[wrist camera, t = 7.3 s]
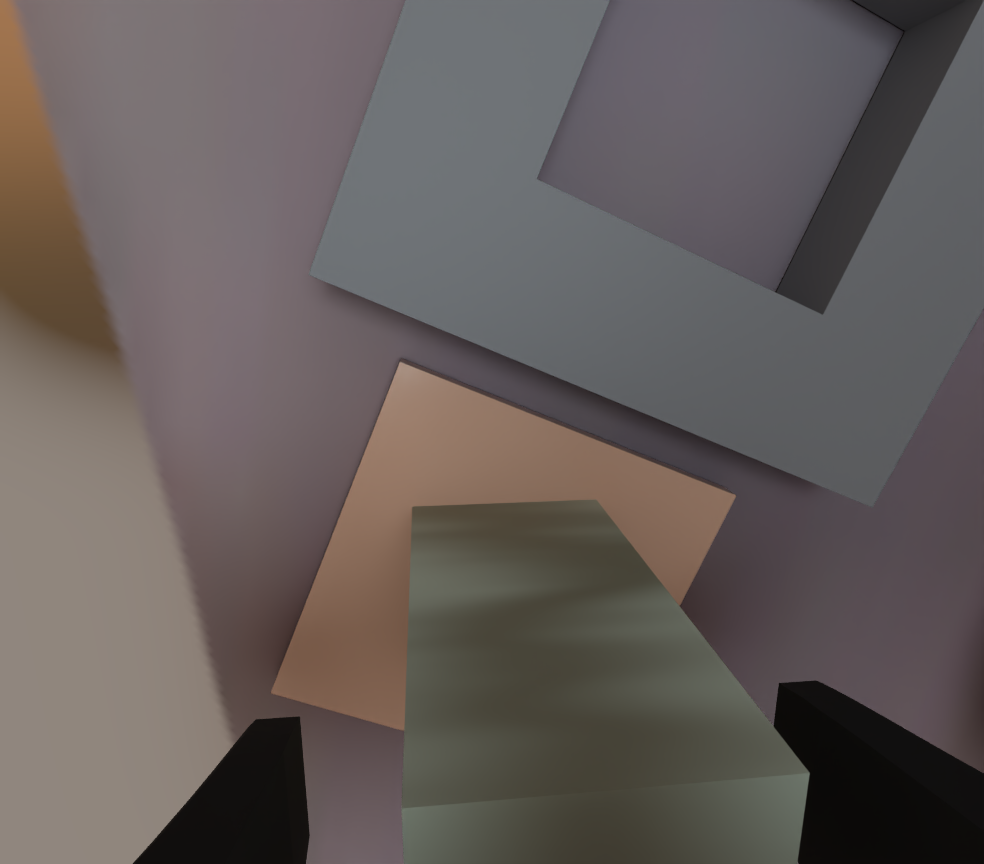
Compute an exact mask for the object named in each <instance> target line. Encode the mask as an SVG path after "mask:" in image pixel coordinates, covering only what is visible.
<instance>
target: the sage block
mask: <svg viewBox="0 0 984 864" xmlns="http://www.w3.org/2000/svg"><path fill="white" fill-rule="evenodd" d="M809 775H810V773H809V772H808V770H807V769H806V768H805V766H804V765H803V764H802V763H801V761H800V760H799V759H798V757H797V756H796V755H795V754H794V752H793V751H792V750H791V748H790V747H789V746H788V745H787V743H786V742H785V741H784V739H783V738H782V737H781V736H780V734H779V733H778V732H777V731H776V729H775V728H774V727H773V725H772V724H771V723H770V722H769V720H768V719H767V718H766V716H765V715H764V714H763V713H762V711H761V710H760V709H759V707H758V706H757V705H756V704H755V702H754V701H753V700H752V698H751V697H750V696H749V695H748V693H747V692H746V691H745V689H744V688H743V687H742V686H741V684H740V683H739V682H738V681H737V679H736V678H735V677H734V675H733V674H732V673H731V672H730V670H729V669H728V668H727V666H726V665H725V664H724V663H723V661H722V660H721V659H720V657H719V656H718V655H717V654H716V652H715V651H714V650H713V648H712V647H711V646H710V645H709V643H708V642H707V641H706V639H705V638H704V637H703V636H702V634H701V633H700V632H699V631H698V629H697V628H696V627H695V625H694V624H693V623H692V622H691V620H690V619H689V618H688V616H687V615H686V614H685V613H684V611H683V610H682V609H681V607H680V606H679V605H678V604H677V602H676V601H675V600H674V598H673V597H672V596H671V595H670V593H669V592H668V591H667V589H666V588H665V587H664V586H663V584H662V583H661V582H660V581H659V579H658V578H657V577H656V575H655V574H654V573H653V572H652V570H651V569H650V568H649V566H648V565H647V564H646V563H645V561H644V560H643V559H642V557H641V556H640V555H639V554H638V552H637V551H636V550H635V548H634V547H633V546H632V545H631V543H630V542H629V541H628V540H627V538H626V537H625V536H624V534H623V533H622V532H621V531H620V529H619V528H618V527H617V525H616V524H615V523H614V522H613V520H612V519H611V518H610V516H609V515H608V514H607V513H606V511H605V510H604V509H603V507H602V506H601V505H600V504H599V502H598V501H597V500H596V499H595V500H569V501H543V502H517V503H492V504H466V505H440V506H414V507H412V528H411V557H410V585H409V613H408V641H407V670H406V698H405V726H404V754H403V783H402V830H403V854H404V864H797V862H798V854H799V847H800V840H801V833H802V825H803V818H804V811H805V804H806V796H807V789H808V782H809Z"/></svg>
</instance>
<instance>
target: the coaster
mask: <svg viewBox="0 0 984 864" xmlns="http://www.w3.org/2000/svg"><path fill="white" fill-rule="evenodd" d="M735 497H736V495H735V494H733V493H732V492H731V491H729V490H728V489H726V488H725V487H723V486H720V485H718V484H715V483H713V482H710V481H708V480H705V479H703V478H700V477H698V476H695V475H693V474H690V473H688V472H685V471H683V470H680V469H678V468H675V467H673V466H670V465H668V464H665V463H663V462H660V461H658V460H655V459H653V458H650V457H648V456H645V455H643V454H640V453H638V452H635V451H633V450H630V449H628V448H625V447H623V446H620V445H618V444H615V443H613V442H610V441H608V440H605V439H603V438H600V437H598V436H595V435H593V434H590V433H587V432H585V431H582V430H580V429H577V428H575V427H572V426H570V425H567V424H565V423H562V422H560V421H557V420H555V419H552V418H550V417H547V416H545V415H542V414H540V413H537V412H535V411H532V410H530V409H527V408H525V407H522V406H520V405H517V404H515V403H512V402H510V401H507V400H505V399H502V398H500V397H497V396H495V395H492V394H490V393H487V392H485V391H482V390H480V389H477V388H475V387H472V386H470V385H467V384H465V383H462V382H460V381H457V380H455V379H452V378H450V377H447V376H445V375H442V374H440V373H437V372H435V371H432V370H430V369H427V368H424V367H422V366H419V365H417V364H414V363H412V362H409V361H407V360H404V359H402V358H401V359H400V362H399V364H398V367H397V370H396V372H395V375H394V377H393V380H392V382H391V385H390V387H389V390H388V393H387V395H386V398H385V400H384V403H383V405H382V408H381V410H380V413H379V416H378V418H377V421H376V423H375V426H374V428H373V431H372V434H371V436H370V439H369V441H368V444H367V446H366V449H365V451H364V454H363V457H362V459H361V462H360V464H359V467H358V469H357V472H356V474H355V477H354V480H353V482H352V485H351V487H350V490H349V492H348V495H347V498H346V500H345V503H344V505H343V508H342V510H341V513H340V515H339V518H338V521H337V523H336V526H335V528H334V531H333V533H332V536H331V538H330V541H329V544H328V546H327V549H326V551H325V554H324V556H323V559H322V562H321V564H320V567H319V569H318V572H317V574H316V577H315V579H314V582H313V585H312V587H311V590H310V592H309V595H308V597H307V600H306V602H305V605H304V608H303V610H302V613H301V615H300V618H299V620H298V623H297V626H296V628H295V631H294V633H293V636H292V638H291V641H290V643H289V646H288V649H287V651H286V654H285V656H284V659H283V661H282V664H281V666H280V669H279V672H278V674H277V677H276V679H275V682H274V685H273V688H272V691H271V694H275V695H278V696H282V697H285V698H289V699H292V700H296V701H300V702H303V703H307V704H310V705H314V706H317V707H321V708H324V709H328V710H331V711H335V712H338V713H342V714H345V715H349V716H353V717H356V718H360V719H363V720H367V721H370V722H374V723H377V724H381V725H384V726H388V727H391V728H395V729H398V730H402V731H404V726H405V698H406V670H407V641H408V613H409V585H410V557H411V528H412V507H414V506H440V505H466V504H492V503H517V502H543V501H569V500H595V499H596V500H597V501H598V502H599V504H600V505H601V506H602V507H603V509H604V510H605V511H606V513H607V514H608V515H609V516H610V518H611V519H612V520H613V522H614V523H615V524H616V525H617V527H618V528H619V529H620V531H621V532H622V533H623V534H624V536H625V537H626V538H627V540H628V541H629V542H630V543H631V545H632V546H633V547H634V548H635V550H636V551H637V552H638V554H639V555H640V556H641V557H642V559H643V560H644V561H645V563H646V564H647V565H648V566H649V568H650V569H651V570H652V572H653V573H654V574H655V575H656V577H657V578H658V579H659V581H660V582H661V583H662V584H663V586H664V587H665V588H666V589H667V591H668V592H669V593H670V595H671V596H672V597H673V598H674V600H675V601H676V602H677V604H678V605H679V606H680V605H681V603H682V601H683V599H684V597H685V595H686V593H687V591H688V589H689V587H690V585H691V583H692V581H693V579H694V577H695V575H696V573H697V571H698V569H699V568H700V566H701V564H702V562H703V560H704V558H705V556H706V554H707V552H708V550H709V548H710V546H711V544H712V542H713V540H714V538H715V536H716V534H717V532H718V530H719V529H720V527H721V525H722V523H723V521H724V519H725V517H726V515H727V513H728V511H729V509H730V507H731V505H732V503H733V501H734V499H735Z"/></svg>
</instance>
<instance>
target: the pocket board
mask: <svg viewBox="0 0 984 864" xmlns="http://www.w3.org/2000/svg"><path fill="white" fill-rule="evenodd" d="M609 1H610V0H406V1H405V4H404V6H403V9H402V12H401V15H400V18H399V21H398V23H397V26H396V29H395V32H394V35H393V37H392V40H391V43H390V46H389V49H388V52H387V54H386V57H385V60H384V63H383V66H382V69H381V71H380V74H379V77H378V80H377V83H376V86H375V88H374V91H373V94H372V97H371V100H370V102H369V105H368V108H367V111H366V114H365V117H364V119H363V122H362V125H361V128H360V131H359V134H358V136H357V139H356V142H355V145H354V148H353V151H352V153H351V156H350V159H349V162H348V165H347V167H346V170H345V173H344V176H343V179H342V182H341V184H340V187H339V190H338V193H337V196H336V199H335V201H334V204H333V207H332V210H331V213H330V215H329V218H328V221H327V224H326V227H325V230H324V232H323V235H322V238H321V241H320V244H319V247H318V249H317V252H316V255H315V258H314V261H313V264H312V266H311V269H310V272H309V275H310V276H312V277H315V278H317V279H320V280H322V281H325V282H327V283H329V284H332V285H334V286H337V287H339V288H342V289H344V290H346V291H349V292H351V293H354V294H356V295H358V296H361V297H363V298H366V299H368V300H371V301H373V302H375V303H378V304H380V305H383V306H385V307H388V308H390V309H392V310H395V311H397V312H400V313H402V314H405V315H407V316H409V317H412V318H414V319H417V320H419V321H421V322H424V323H426V324H429V325H431V326H434V327H436V328H438V329H441V330H443V331H446V332H448V333H451V334H453V335H455V336H458V337H460V338H463V339H465V340H467V341H470V342H472V343H475V344H477V345H480V346H482V347H484V348H487V349H489V350H492V351H494V352H497V353H499V354H501V355H504V356H506V357H509V358H511V359H514V360H516V361H518V362H521V363H523V364H526V365H528V366H530V367H533V368H535V369H538V370H540V371H543V372H545V373H547V374H550V375H552V376H555V377H557V378H560V379H562V380H564V381H567V382H569V383H572V384H574V385H577V386H579V387H581V388H584V389H586V390H589V391H591V392H593V393H596V394H598V395H601V396H603V397H606V398H608V399H610V400H613V401H615V402H618V403H620V404H623V405H625V406H627V407H630V408H632V409H635V410H637V411H640V412H642V413H644V414H647V415H649V416H652V417H654V418H656V419H659V420H661V421H664V422H666V423H669V424H671V425H673V426H676V427H678V428H681V429H683V430H686V431H688V432H690V433H693V434H695V435H698V436H700V437H702V438H705V439H707V440H710V441H712V442H715V443H717V444H719V445H722V446H724V447H727V448H729V449H732V450H734V451H736V452H739V453H741V454H744V455H746V456H749V457H751V458H753V459H756V460H758V461H761V462H763V463H765V464H768V465H770V466H773V467H775V468H778V469H780V470H782V471H785V472H787V473H790V474H792V475H795V476H797V477H799V478H802V479H804V480H807V481H809V482H811V483H814V484H816V485H819V486H821V487H824V488H826V489H828V490H831V491H833V492H836V493H838V494H841V495H843V496H845V497H848V498H850V499H853V500H855V501H858V502H860V503H862V504H865V505H867V506H870V507H872V508H873V506H874V504H875V502H876V500H877V499H878V497H879V495H880V493H881V491H882V490H883V488H884V486H885V484H886V482H887V481H888V479H889V477H890V475H891V473H892V472H893V470H894V468H895V466H896V464H897V463H898V461H899V459H900V457H901V455H902V454H903V452H904V450H905V448H906V447H907V445H908V443H909V441H910V439H911V438H912V436H913V434H914V432H915V430H916V429H917V427H918V425H919V423H920V421H921V420H922V418H923V416H924V414H925V412H926V411H927V409H928V407H929V405H930V403H931V402H932V400H933V398H934V396H935V395H936V393H937V391H938V389H939V387H940V386H941V384H942V382H943V380H944V378H945V377H946V375H947V373H948V371H949V369H950V368H951V366H952V364H953V362H954V360H955V359H956V357H957V355H958V353H959V351H960V350H961V348H962V346H963V344H964V342H965V341H966V339H967V337H968V335H969V334H970V332H971V330H972V328H973V326H974V325H975V323H976V321H977V319H978V317H979V316H980V314H981V312H982V310H983V308H984V0H853V1H855V2H857V3H859V4H860V5H862V6H864V7H865V8H867V9H869V10H870V11H872V12H874V13H875V14H877V15H879V16H880V17H882V18H884V19H885V20H887V21H889V22H891V23H892V24H894V25H896V26H897V27H899V28H901V29H902V30H904V31H905V33H904V35H903V37H902V39H901V41H900V43H899V45H898V47H897V49H896V51H895V53H894V55H893V57H892V59H891V61H890V63H889V65H888V67H887V69H886V71H885V73H884V75H883V77H882V79H881V81H880V83H879V85H878V87H877V89H876V91H875V93H874V95H873V97H872V99H871V101H870V103H869V106H868V108H867V110H866V112H865V114H864V116H863V118H862V120H861V122H860V124H859V126H858V128H857V130H856V132H855V134H854V136H853V138H852V140H851V142H850V144H849V146H848V148H847V150H846V152H845V154H844V156H843V158H842V160H841V162H840V164H839V166H838V168H837V170H836V172H835V174H834V176H833V178H832V180H831V182H830V185H829V187H828V189H827V191H826V193H825V195H824V197H823V199H822V201H821V203H820V205H819V207H818V209H817V211H816V213H815V215H814V217H813V219H812V221H811V223H810V225H809V227H808V229H807V231H806V233H805V235H804V237H803V239H802V241H801V243H800V245H799V247H798V249H797V251H796V253H795V255H794V257H793V259H792V261H791V264H790V266H789V268H788V270H787V272H786V274H785V276H784V278H783V280H782V282H781V284H780V286H779V288H778V290H777V292H774V291H772V290H769V289H767V288H765V287H763V286H761V285H759V284H757V283H755V282H753V281H750V280H748V279H746V278H744V277H742V276H740V275H738V274H736V273H734V272H732V271H729V270H727V269H725V268H723V267H721V266H719V265H717V264H715V263H713V262H710V261H708V260H706V259H704V258H702V257H700V256H698V255H696V254H694V253H691V252H689V251H687V250H685V249H683V248H681V247H679V246H677V245H675V244H673V243H670V242H668V241H666V240H664V239H662V238H660V237H658V236H656V235H654V234H651V233H649V232H647V231H645V230H643V229H641V228H639V227H637V226H635V225H632V224H630V223H628V222H626V221H624V220H622V219H620V218H618V217H616V216H614V215H611V214H609V213H607V212H605V211H603V210H601V209H599V208H597V207H595V206H592V205H590V204H588V203H586V202H584V201H582V200H580V199H578V198H576V197H573V196H571V195H569V194H567V193H565V192H563V191H561V190H559V189H557V188H555V187H552V186H550V185H548V184H546V183H544V182H542V181H540V180H538V179H537V177H538V175H539V172H540V170H541V167H542V165H543V162H544V160H545V158H546V155H547V153H548V150H549V148H550V145H551V143H552V140H553V138H554V136H555V133H556V131H557V128H558V126H559V123H560V121H561V118H562V116H563V114H564V111H565V109H566V106H567V104H568V101H569V99H570V96H571V94H572V92H573V89H574V87H575V84H576V82H577V79H578V77H579V75H580V72H581V70H582V67H583V65H584V62H585V60H586V57H587V55H588V53H589V50H590V48H591V45H592V43H593V40H594V38H595V35H596V33H597V31H598V28H599V26H600V23H601V21H602V18H603V16H604V13H605V11H606V9H607V6H608V4H609Z"/></svg>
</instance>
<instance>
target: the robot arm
mask: <svg viewBox="0 0 984 864" xmlns="http://www.w3.org/2000/svg"><path fill="white" fill-rule="evenodd" d="M774 728H775V729H776V731H777V732H778V733H779V734H780V736H781V737H782V738H783V739H784V741H785V742H786V743H787V745H788V746H789V747H790V748H791V750H792V751H793V752H794V754H795V755H796V756H797V757H798V759H799V760H800V761H801V763H802V764H803V765H804V766H805V768H806V769H807V770H808V772H809V773H810V775H809V782H808V789H807V796H806V804H805V811H804V818H803V825H802V833H801V840H800V847H799V854H798V863H799V864H984V773H982V772H980V771H978V770H976V769H975V768H973V767H971V766H969V765H967V764H966V763H964V762H962V761H960V760H959V759H957V758H955V757H953V756H952V755H950V754H948V753H946V752H944V751H943V750H941V749H939V748H937V747H936V746H934V745H932V744H930V743H929V742H927V741H925V740H923V739H922V738H920V737H918V736H916V735H915V734H913V733H911V732H909V731H908V730H906V729H904V728H903V727H901V726H899V725H897V724H896V723H894V722H892V721H890V720H889V719H887V718H885V717H883V716H882V715H880V714H878V713H876V712H875V711H873V710H871V709H869V708H868V707H866V706H864V705H862V704H860V703H859V702H857V701H855V700H853V699H851V698H850V697H848V696H846V695H844V694H842V693H840V692H838V691H836V690H835V689H833V688H831V687H829V686H827V685H825V684H823V683H820V682H818V681H803V682H789V683H779V687H778V696H777V704H776V712H775V720H774ZM308 843H309V823H308V811H307V798H306V786H305V774H304V762H303V750H302V738H301V725H300V717H286V718H272V719H257V720H255V721H254V722H253V723H252V724H251V725H250V726H249V727H248V728H247V729H246V731H245V732H244V733H243V734H242V736H241V737H240V738H239V739H238V740H237V742H236V743H235V744H234V745H233V747H232V748H231V749H230V750H229V752H228V753H227V754H226V756H225V757H224V758H223V759H222V760H221V762H220V763H219V764H218V765H217V767H216V768H215V769H214V770H213V771H212V773H211V774H210V775H209V776H208V778H207V779H206V780H205V781H204V782H203V784H202V785H201V786H200V787H199V788H198V790H197V791H196V792H195V793H194V794H193V796H192V797H191V798H190V799H189V800H188V801H187V803H186V804H185V805H184V806H183V807H182V808H181V810H180V811H179V812H178V813H177V814H176V815H175V816H174V818H173V819H172V820H171V821H170V822H169V823H168V825H167V826H166V827H165V828H164V829H163V830H162V831H161V833H160V834H159V835H158V836H157V838H155V840H154V841H153V842H152V843H151V844H150V845H149V846H148V847H147V849H146V850H145V851H144V852H143V853H142V854H141V855H140V856H139V857H138V858H137V860H136V861H135V862H134V863H133V864H306V858H307V850H308Z"/></svg>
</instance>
